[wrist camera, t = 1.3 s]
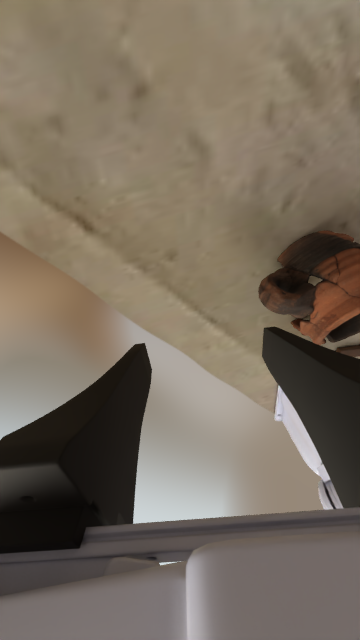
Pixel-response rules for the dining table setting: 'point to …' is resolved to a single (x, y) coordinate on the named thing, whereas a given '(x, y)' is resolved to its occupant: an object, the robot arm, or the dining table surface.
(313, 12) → the dining table surface
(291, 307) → the pottery shards
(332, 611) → the robot arm
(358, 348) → the walnut spoon
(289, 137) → the dining table surface
